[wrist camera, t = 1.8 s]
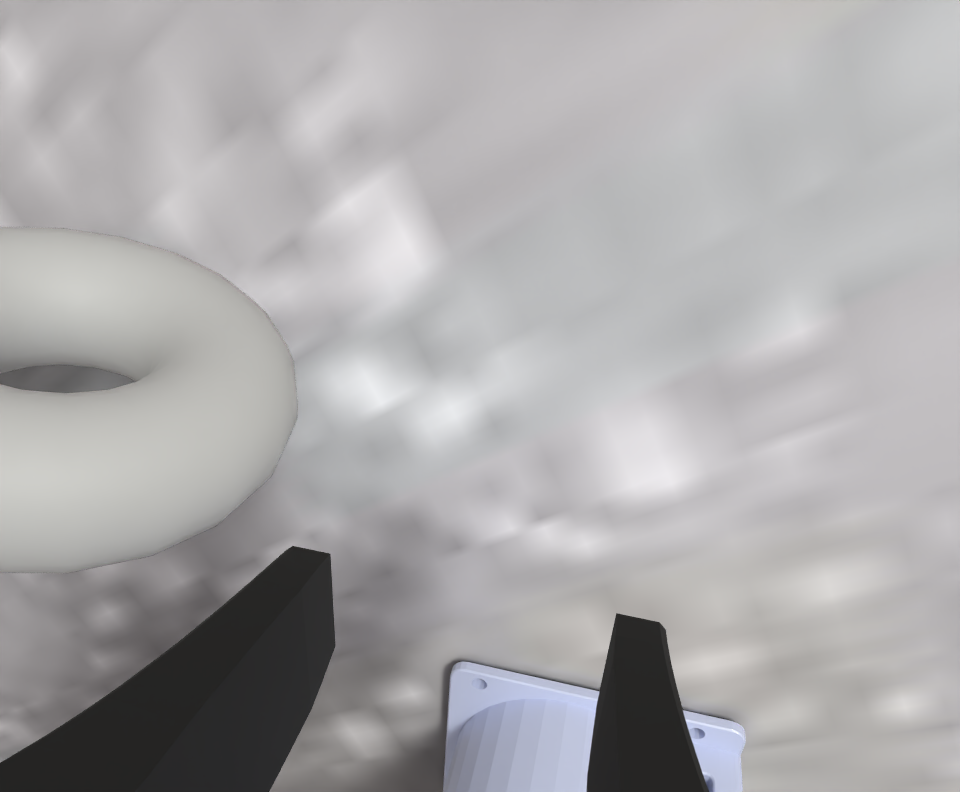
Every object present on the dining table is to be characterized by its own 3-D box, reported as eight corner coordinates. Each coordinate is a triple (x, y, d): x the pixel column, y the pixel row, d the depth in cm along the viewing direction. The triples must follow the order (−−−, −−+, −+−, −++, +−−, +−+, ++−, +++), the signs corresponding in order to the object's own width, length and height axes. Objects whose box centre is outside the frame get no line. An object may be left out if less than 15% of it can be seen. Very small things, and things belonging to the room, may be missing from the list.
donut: (372, 296, 20) (151, 566, 12) (347, 402, 22) (140, 698, 14) (12, 160, 21) (-451, 330, 12) (17, 276, 22) (-380, 491, 14)
